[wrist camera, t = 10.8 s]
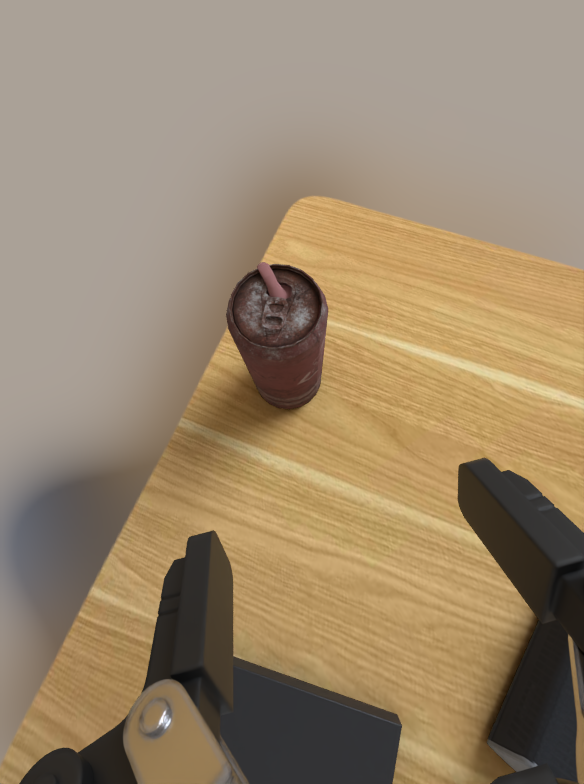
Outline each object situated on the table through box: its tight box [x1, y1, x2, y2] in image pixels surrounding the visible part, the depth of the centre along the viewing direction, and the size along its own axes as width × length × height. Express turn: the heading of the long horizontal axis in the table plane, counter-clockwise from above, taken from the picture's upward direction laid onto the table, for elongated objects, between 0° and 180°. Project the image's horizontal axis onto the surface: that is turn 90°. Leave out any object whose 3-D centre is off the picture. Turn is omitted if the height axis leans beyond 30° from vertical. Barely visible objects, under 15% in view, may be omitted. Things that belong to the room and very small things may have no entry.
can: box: [226, 262, 328, 409], centre depth 27 cm, size 6×6×14 cm
